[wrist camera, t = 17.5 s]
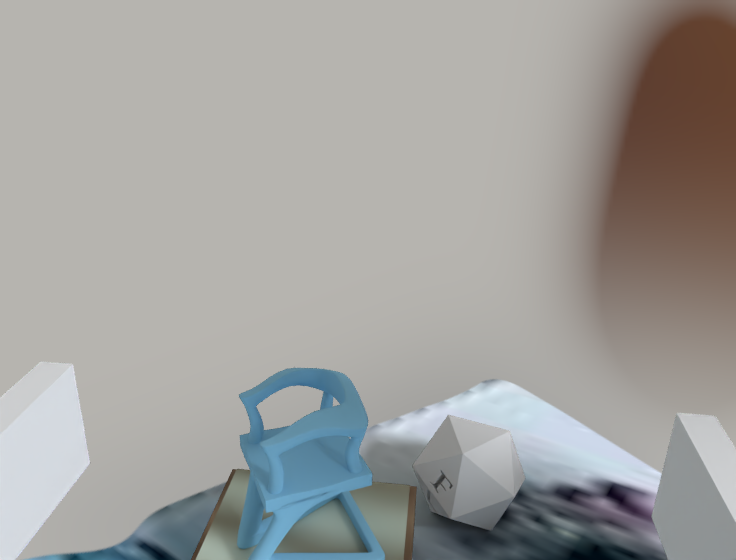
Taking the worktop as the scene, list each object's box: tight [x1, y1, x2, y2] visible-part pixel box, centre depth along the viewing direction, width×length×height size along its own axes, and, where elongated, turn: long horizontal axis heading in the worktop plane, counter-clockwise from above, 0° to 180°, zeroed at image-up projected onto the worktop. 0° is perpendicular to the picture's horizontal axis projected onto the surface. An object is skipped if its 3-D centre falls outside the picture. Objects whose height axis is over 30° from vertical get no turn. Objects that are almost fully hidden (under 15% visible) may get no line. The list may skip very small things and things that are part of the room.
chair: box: [237, 368, 385, 560], centre depth 41 cm, size 8×8×12 cm
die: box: [412, 415, 525, 531], centre depth 54 cm, size 8×9×10 cm
